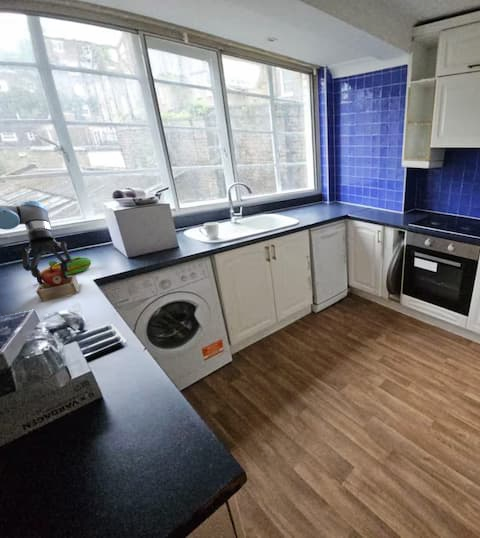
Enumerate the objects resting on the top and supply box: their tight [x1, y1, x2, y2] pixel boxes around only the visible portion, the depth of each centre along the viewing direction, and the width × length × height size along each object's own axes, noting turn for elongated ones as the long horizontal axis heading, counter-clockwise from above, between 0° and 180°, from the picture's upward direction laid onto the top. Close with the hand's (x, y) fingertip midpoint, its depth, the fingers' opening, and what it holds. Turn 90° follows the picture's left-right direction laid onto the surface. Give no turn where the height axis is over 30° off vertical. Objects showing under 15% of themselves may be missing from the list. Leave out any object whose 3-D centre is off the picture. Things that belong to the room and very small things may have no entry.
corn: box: [40, 256, 92, 277], centre depth 143 cm, size 7×8×20 cm
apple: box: [41, 260, 65, 286], centre depth 122 cm, size 8×7×10 cm
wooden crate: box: [35, 274, 80, 303], centre depth 125 cm, size 11×11×5 cm
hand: (53, 280), depth 120 cm, fingers closed on apple, 7 cm apart
